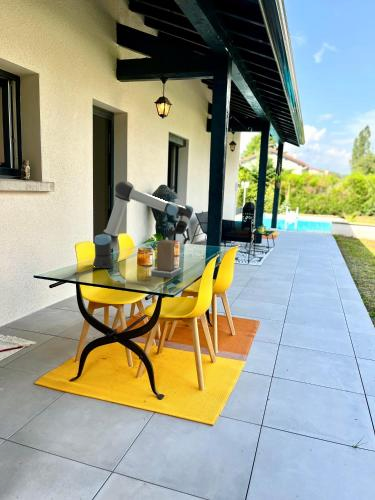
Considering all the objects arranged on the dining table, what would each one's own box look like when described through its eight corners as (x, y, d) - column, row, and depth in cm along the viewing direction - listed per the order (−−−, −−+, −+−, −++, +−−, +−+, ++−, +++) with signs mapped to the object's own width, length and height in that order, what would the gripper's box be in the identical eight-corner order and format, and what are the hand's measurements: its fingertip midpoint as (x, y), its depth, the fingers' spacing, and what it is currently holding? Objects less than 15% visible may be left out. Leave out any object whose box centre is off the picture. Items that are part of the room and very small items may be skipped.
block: (170, 272, 251) (171, 242, 247) (156, 271, 253) (156, 241, 249) (174, 269, 260) (174, 240, 257) (160, 268, 262) (160, 239, 259)
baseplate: (151, 275, 253) (151, 270, 253) (161, 271, 267) (161, 265, 266) (171, 278, 247) (171, 272, 247) (180, 273, 261) (180, 268, 260)
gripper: (199, 228, 274) (190, 251, 263) (169, 225, 284) (159, 247, 273) (197, 221, 268) (187, 244, 257) (166, 219, 278) (155, 241, 267)
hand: (172, 246), depth 265 cm, fingers open, 13 cm apart
